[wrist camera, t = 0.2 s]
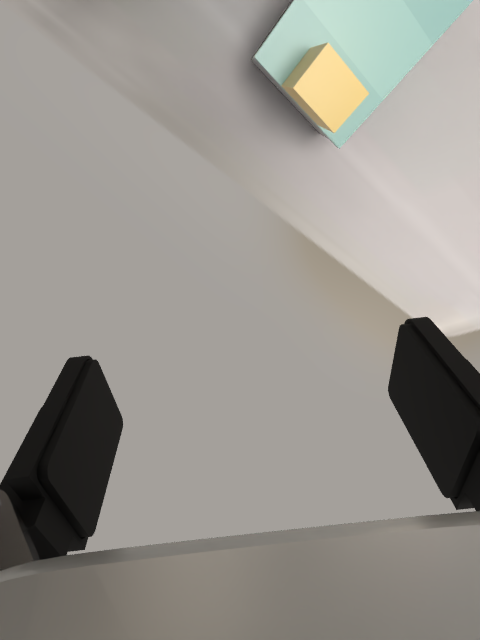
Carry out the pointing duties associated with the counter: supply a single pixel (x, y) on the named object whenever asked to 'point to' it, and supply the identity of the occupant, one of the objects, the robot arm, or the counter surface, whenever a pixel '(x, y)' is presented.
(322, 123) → the lid
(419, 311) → the counter surface
